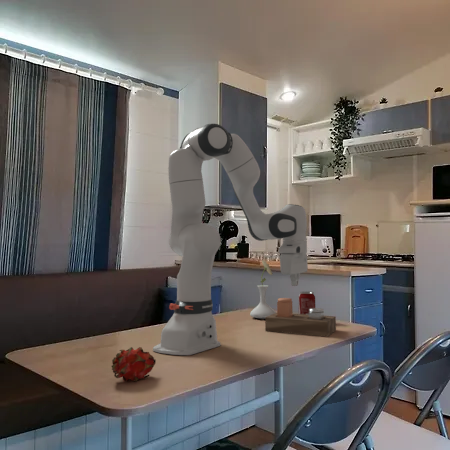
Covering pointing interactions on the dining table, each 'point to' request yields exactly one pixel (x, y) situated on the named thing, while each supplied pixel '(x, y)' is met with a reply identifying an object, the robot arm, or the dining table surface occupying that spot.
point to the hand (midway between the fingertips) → (295, 285)
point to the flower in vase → (263, 298)
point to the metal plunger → (316, 313)
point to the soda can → (306, 302)
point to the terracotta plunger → (284, 307)
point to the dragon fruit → (132, 364)
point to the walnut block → (301, 325)
